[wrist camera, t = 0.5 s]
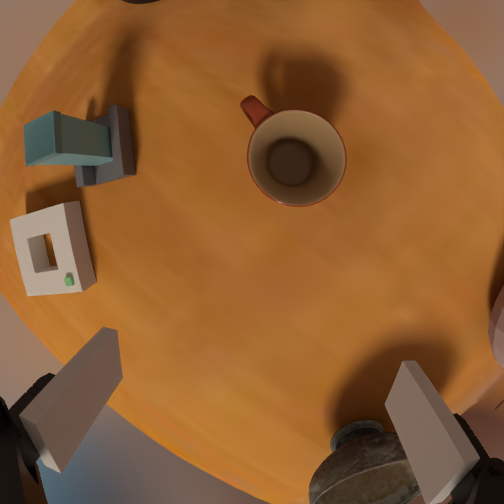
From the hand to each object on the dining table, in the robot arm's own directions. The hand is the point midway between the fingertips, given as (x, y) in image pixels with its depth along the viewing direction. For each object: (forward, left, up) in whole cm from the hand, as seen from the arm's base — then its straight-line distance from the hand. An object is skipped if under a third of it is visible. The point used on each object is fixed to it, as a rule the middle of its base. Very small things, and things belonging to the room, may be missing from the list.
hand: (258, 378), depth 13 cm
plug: (-16, -19, -25) cm, 35 cm away
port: (-4, -31, -26) cm, 40 cm away
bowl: (+36, +12, -26) cm, 46 cm away
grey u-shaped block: (-16, -19, -26) cm, 36 cm away
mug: (-11, +3, -26) cm, 29 cm away
